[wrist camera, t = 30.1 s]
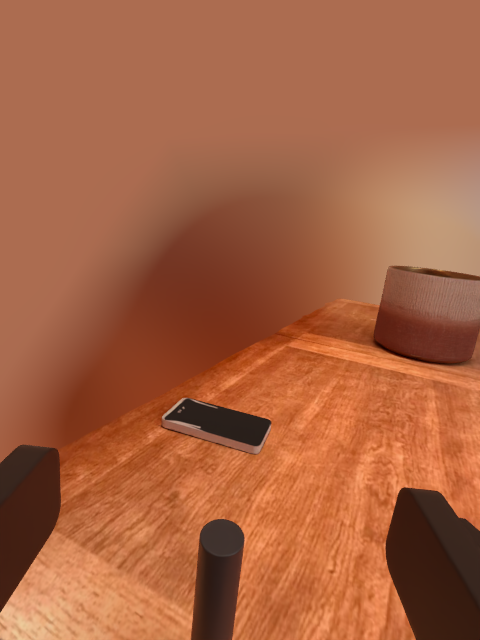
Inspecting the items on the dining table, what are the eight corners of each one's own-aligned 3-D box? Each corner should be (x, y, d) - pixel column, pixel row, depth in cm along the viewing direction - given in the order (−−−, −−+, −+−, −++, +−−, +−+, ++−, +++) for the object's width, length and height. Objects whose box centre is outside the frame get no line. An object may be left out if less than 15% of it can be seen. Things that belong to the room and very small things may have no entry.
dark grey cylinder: (198, 717, 22) (214, 564, 19) (180, 673, 24) (192, 528, 21) (233, 690, 24) (253, 544, 21) (214, 651, 26) (229, 512, 23)
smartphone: (259, 447, 48) (159, 418, 52) (257, 456, 48) (159, 426, 52) (272, 420, 55) (184, 396, 59) (271, 428, 55) (183, 404, 60)
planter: (368, 330, 118) (382, 263, 112) (454, 344, 112) (472, 273, 106) (377, 355, 94) (394, 270, 88) (485, 374, 88) (512, 285, 83)
